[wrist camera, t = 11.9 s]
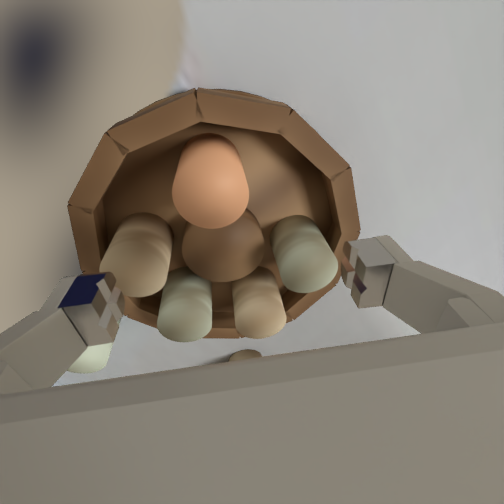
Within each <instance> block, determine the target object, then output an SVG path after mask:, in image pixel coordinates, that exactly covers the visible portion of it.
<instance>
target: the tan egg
mask: <svg viewBox="0 0 504 504" xmlns="http://www.w3.org/2000/svg"><path fill="white" fill-rule="evenodd" d="M257 357H262V355H261V354H260V353H259V352H258V351H255V350H250V349H247V350H241V351H238V352H236V353H234V354H233V355H232V356H231V357H230V358H229V361H236V360H243V359H250V358H257Z"/></svg>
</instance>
